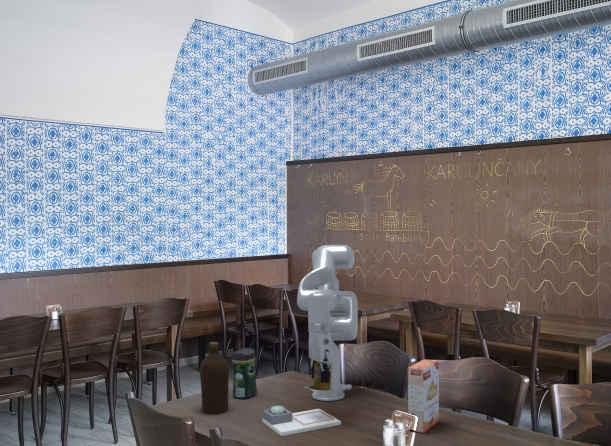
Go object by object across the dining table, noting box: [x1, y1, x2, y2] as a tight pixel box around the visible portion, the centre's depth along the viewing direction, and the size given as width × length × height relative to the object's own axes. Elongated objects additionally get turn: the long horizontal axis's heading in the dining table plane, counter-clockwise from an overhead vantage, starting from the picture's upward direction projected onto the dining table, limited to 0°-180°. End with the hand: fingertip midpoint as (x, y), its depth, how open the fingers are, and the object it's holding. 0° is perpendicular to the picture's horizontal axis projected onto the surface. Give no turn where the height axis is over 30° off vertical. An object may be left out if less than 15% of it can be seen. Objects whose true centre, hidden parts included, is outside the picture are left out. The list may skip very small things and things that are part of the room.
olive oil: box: [199, 341, 230, 415], centre depth 230 cm, size 11×11×25 cm
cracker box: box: [407, 358, 440, 434], centre depth 208 cm, size 14×6×21 cm, turn 148°
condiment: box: [304, 360, 335, 392], centre depth 216 cm, size 7×8×12 cm
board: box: [262, 407, 342, 437], centre depth 213 cm, size 22×16×4 cm
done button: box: [270, 405, 285, 415], centre depth 214 cm, size 4×4×3 cm
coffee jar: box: [231, 347, 258, 399], centre depth 248 cm, size 10×8×19 cm
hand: (320, 379), depth 216 cm, fingers closed on condiment, 6 cm apart
